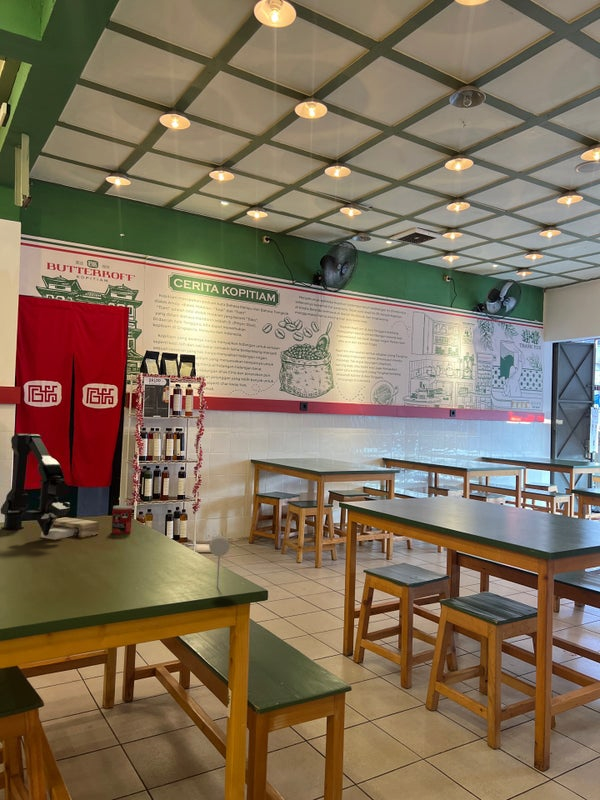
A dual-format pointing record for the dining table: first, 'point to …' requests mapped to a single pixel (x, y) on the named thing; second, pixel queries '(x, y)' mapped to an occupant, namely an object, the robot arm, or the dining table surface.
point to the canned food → (121, 519)
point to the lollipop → (219, 549)
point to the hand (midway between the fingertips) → (45, 535)
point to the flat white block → (60, 533)
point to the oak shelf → (78, 526)
